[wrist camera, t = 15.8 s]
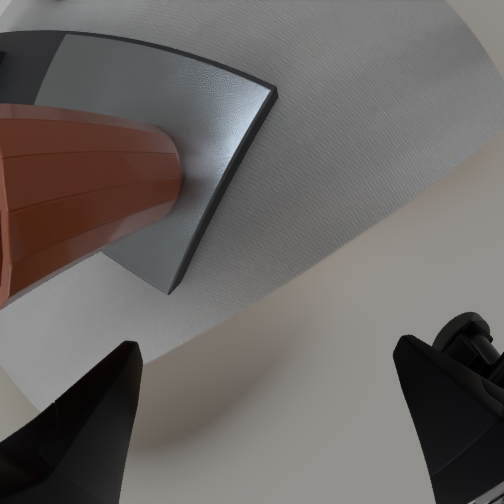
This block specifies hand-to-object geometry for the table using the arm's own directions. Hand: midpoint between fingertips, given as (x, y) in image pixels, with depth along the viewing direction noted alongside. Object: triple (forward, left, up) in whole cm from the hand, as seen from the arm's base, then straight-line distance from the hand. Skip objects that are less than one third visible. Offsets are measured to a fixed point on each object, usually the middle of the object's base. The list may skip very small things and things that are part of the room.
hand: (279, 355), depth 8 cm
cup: (+11, 0, -9) cm, 14 cm away
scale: (+28, -1, -12) cm, 30 cm away
